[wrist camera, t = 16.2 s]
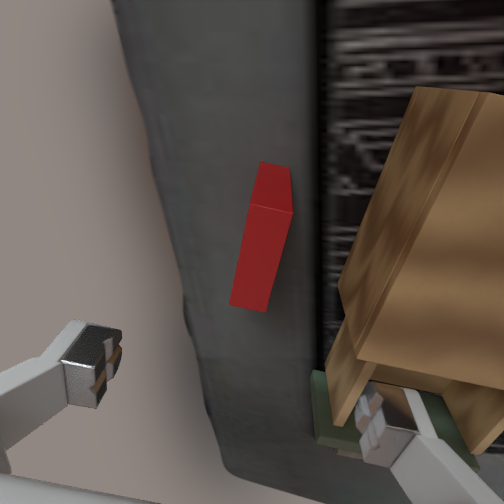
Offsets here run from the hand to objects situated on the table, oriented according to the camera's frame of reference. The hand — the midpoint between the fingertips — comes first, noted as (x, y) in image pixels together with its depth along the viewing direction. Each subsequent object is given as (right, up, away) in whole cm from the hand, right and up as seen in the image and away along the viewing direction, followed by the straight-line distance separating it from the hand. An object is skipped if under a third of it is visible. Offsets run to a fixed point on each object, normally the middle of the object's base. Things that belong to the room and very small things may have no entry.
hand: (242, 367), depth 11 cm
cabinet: (+16, +6, +14) cm, 22 cm away
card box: (+1, +7, +15) cm, 17 cm away
